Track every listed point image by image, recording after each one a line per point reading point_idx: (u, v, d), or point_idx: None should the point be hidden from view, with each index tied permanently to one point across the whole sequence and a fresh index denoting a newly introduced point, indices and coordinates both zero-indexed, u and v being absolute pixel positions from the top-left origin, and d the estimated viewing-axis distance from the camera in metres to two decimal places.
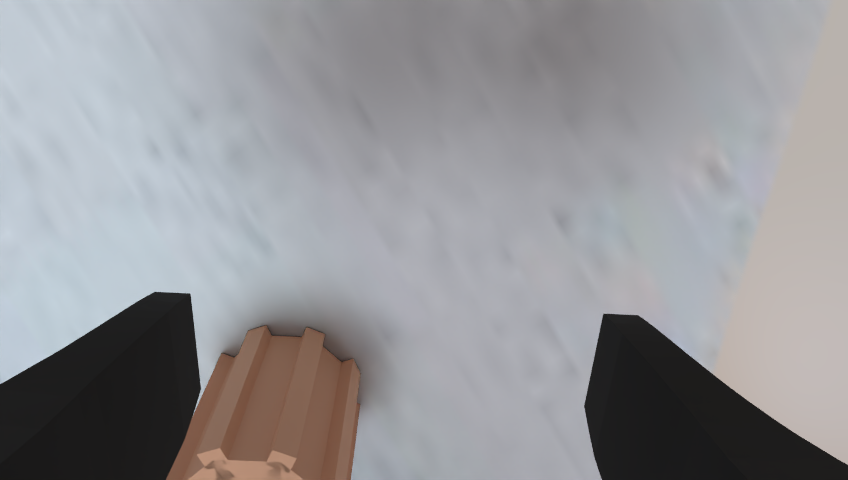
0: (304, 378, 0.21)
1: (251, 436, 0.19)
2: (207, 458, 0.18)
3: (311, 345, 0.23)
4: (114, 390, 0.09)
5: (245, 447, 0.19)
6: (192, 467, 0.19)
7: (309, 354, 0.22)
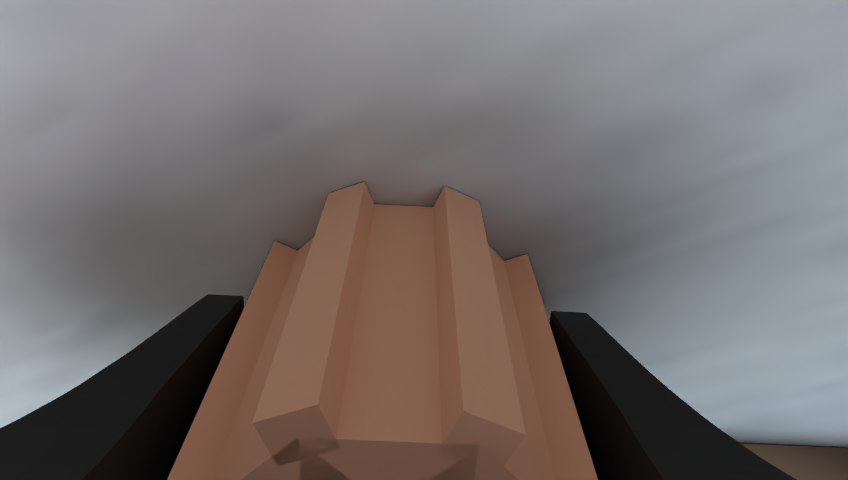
0: None
1: None
2: None
3: None
4: (182, 393, 0.09)
5: None
6: None
7: None
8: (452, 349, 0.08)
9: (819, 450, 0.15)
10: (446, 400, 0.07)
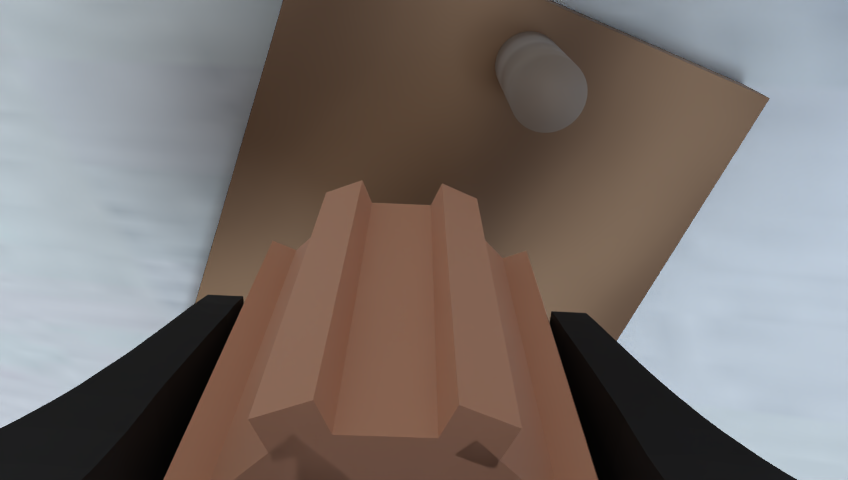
0: None
1: None
2: None
3: None
4: (182, 393, 0.09)
5: None
6: None
7: None
8: (448, 344, 0.08)
9: None
10: (442, 395, 0.07)
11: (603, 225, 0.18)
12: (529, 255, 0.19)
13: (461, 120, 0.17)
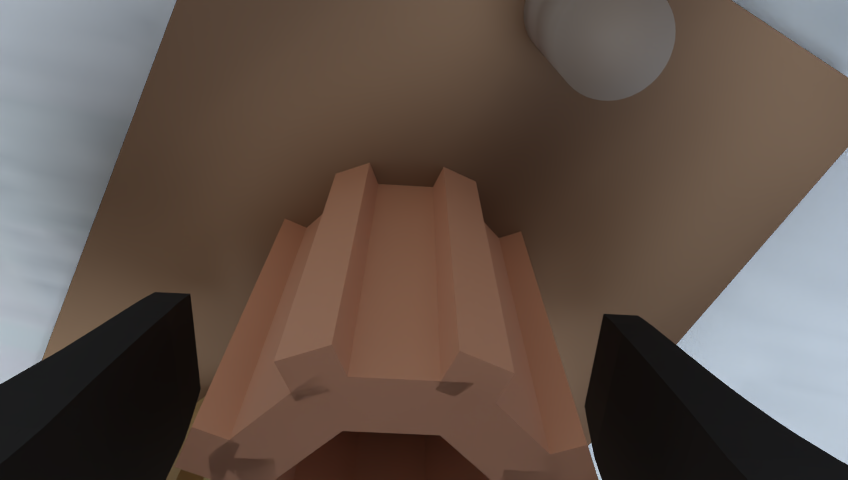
0: None
1: None
2: None
3: None
4: (114, 390, 0.09)
5: None
6: None
7: None
8: (450, 303, 0.09)
9: None
10: (444, 345, 0.08)
11: (636, 248, 0.14)
12: None
13: (466, 80, 0.12)
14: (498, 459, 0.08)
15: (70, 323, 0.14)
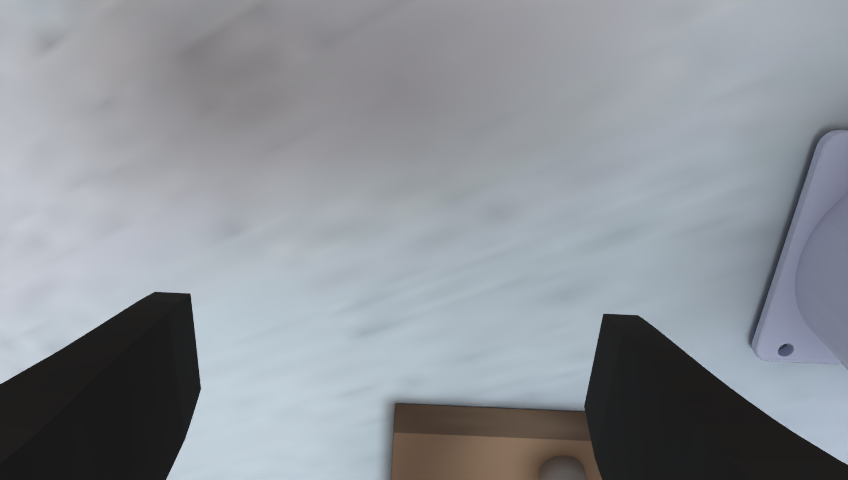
0: None
1: None
2: None
3: None
4: (114, 391, 0.09)
5: None
6: None
7: None
8: None
9: (568, 413, 0.24)
10: None
11: None
12: None
13: None
14: None
15: None
